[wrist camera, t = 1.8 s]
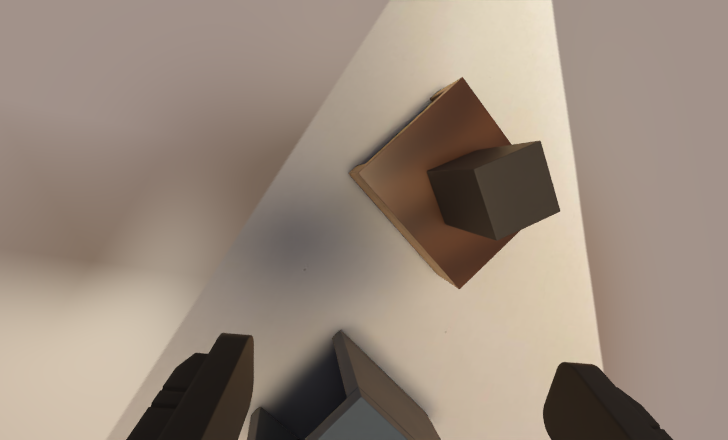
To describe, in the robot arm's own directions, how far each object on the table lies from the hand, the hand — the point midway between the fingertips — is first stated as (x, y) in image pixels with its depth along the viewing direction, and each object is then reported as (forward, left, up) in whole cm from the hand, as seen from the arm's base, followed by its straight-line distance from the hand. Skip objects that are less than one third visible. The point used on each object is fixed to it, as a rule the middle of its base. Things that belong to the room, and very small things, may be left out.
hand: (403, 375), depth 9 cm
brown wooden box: (+5, +11, -25) cm, 28 cm away
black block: (+5, +11, -20) cm, 24 cm away
